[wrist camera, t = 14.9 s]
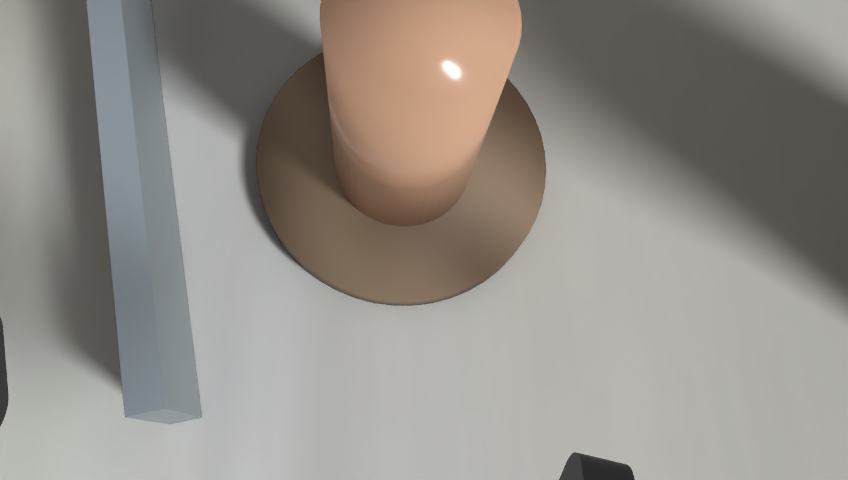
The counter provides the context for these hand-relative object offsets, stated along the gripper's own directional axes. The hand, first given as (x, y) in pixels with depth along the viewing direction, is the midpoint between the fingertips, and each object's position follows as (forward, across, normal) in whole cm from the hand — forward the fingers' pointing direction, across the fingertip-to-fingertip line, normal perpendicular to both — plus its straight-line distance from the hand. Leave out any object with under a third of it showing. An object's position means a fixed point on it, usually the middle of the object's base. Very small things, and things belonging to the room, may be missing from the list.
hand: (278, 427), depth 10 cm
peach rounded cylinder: (+20, 0, +3) cm, 20 cm away
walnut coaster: (+20, 0, +4) cm, 21 cm away
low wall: (+20, +11, +5) cm, 23 cm away
